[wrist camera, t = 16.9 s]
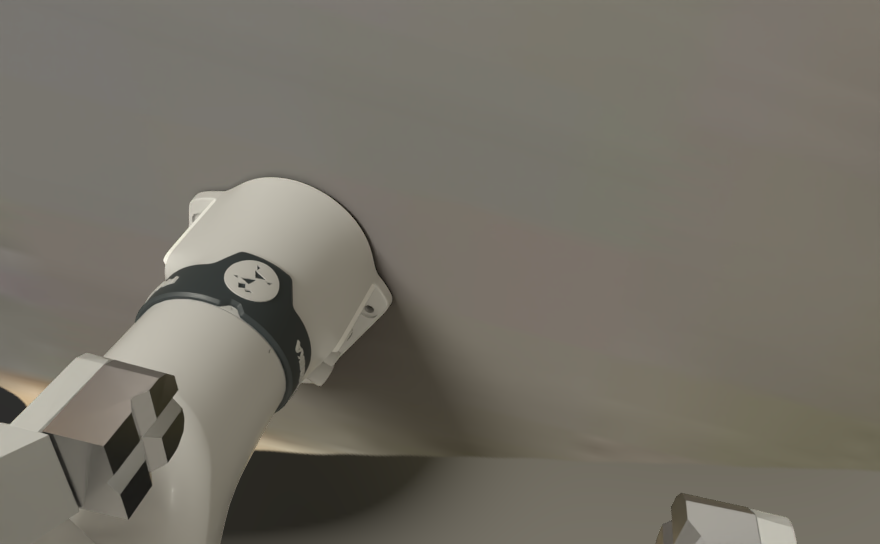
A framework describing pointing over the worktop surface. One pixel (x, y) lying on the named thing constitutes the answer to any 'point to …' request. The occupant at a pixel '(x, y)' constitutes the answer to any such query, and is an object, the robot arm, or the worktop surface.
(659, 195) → the worktop surface
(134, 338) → the robot arm
